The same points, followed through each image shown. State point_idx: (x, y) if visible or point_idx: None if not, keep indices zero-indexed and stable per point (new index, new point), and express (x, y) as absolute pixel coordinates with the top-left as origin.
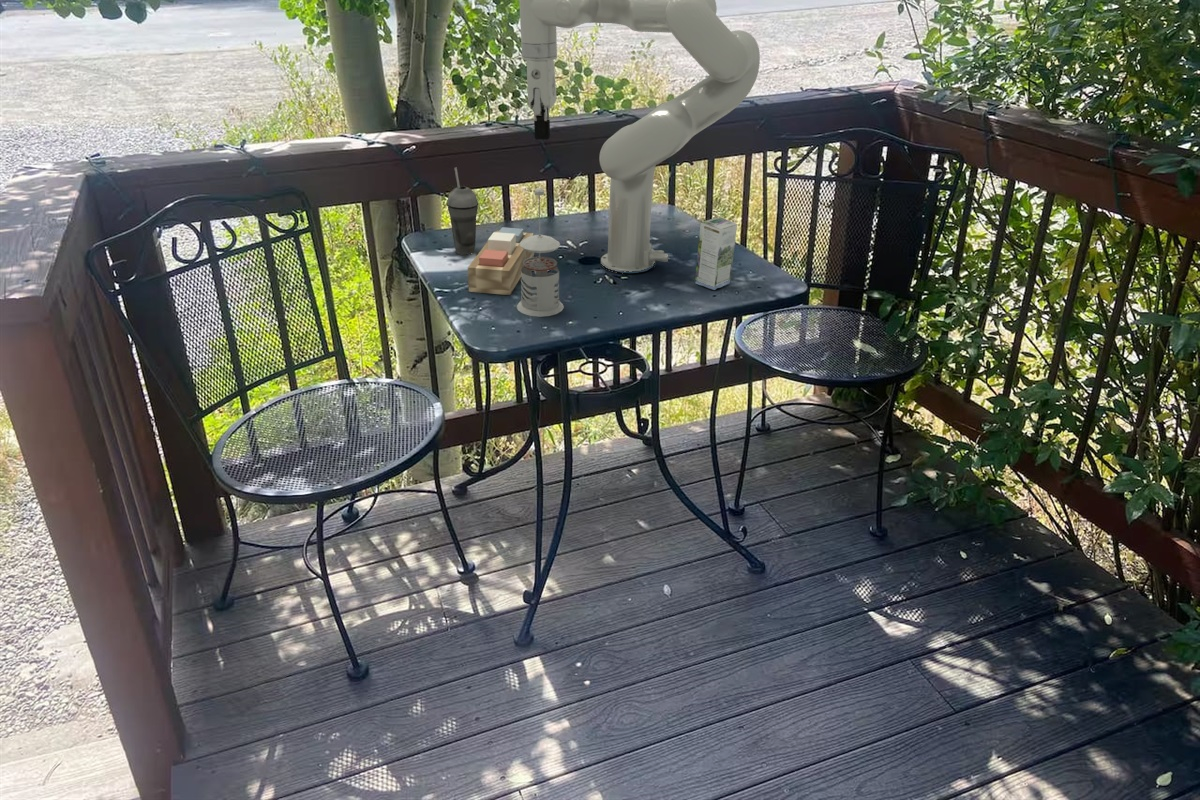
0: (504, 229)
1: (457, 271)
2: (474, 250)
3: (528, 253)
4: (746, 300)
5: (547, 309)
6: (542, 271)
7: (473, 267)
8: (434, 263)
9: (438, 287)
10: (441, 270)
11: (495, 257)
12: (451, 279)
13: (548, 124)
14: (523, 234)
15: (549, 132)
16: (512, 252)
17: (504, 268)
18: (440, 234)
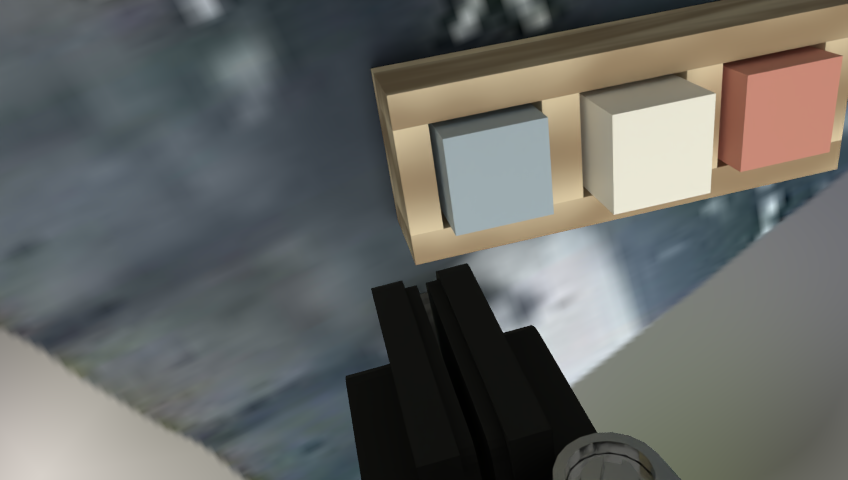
0: (482, 213)
1: (614, 254)
2: (425, 296)
3: (490, 58)
4: None
5: None
6: None
7: (835, 149)
8: (566, 348)
9: (751, 239)
10: (617, 301)
11: (821, 93)
12: (683, 237)
13: (526, 388)
14: (422, 134)
15: (418, 318)
16: (647, 83)
17: (836, 32)
18: (304, 467)
